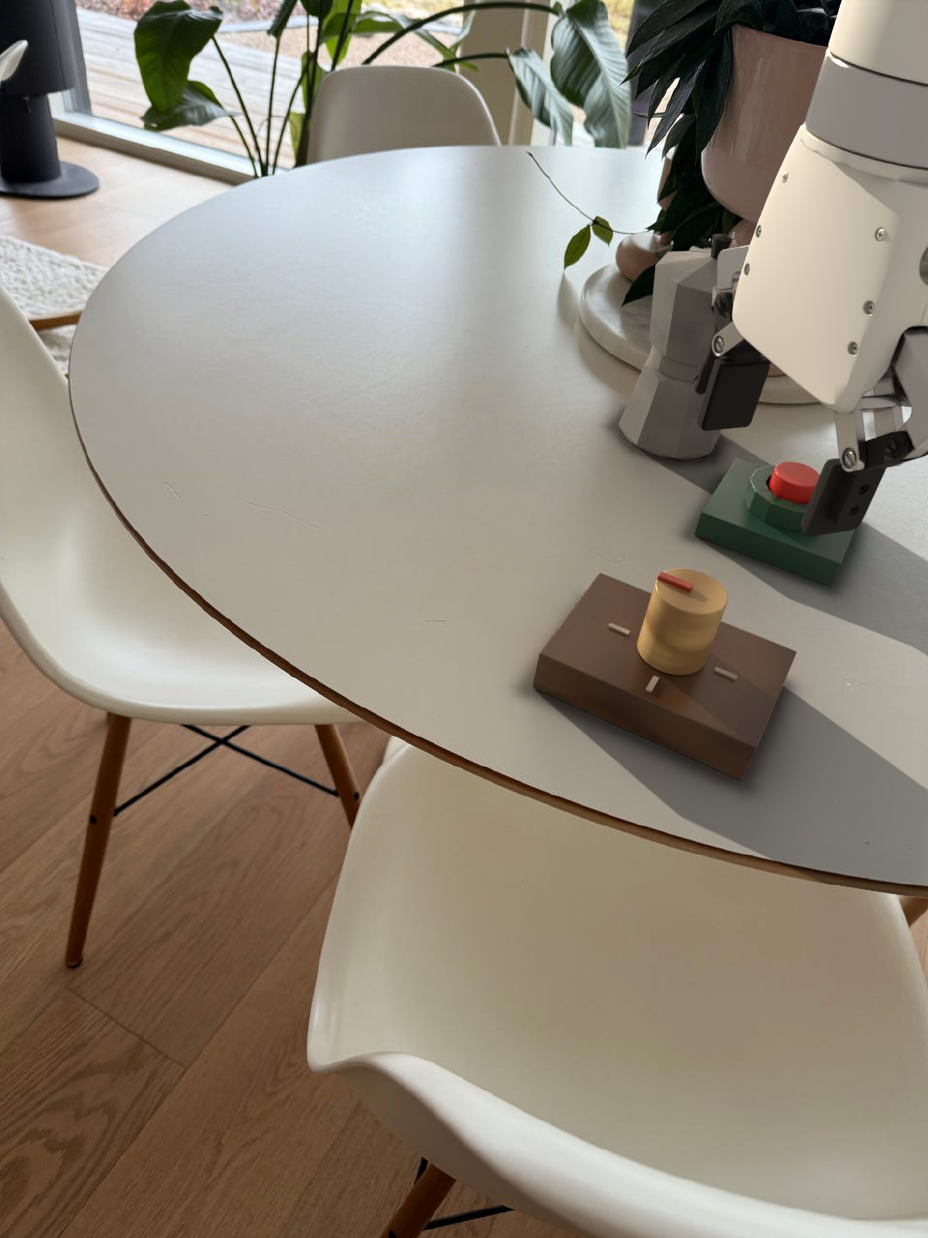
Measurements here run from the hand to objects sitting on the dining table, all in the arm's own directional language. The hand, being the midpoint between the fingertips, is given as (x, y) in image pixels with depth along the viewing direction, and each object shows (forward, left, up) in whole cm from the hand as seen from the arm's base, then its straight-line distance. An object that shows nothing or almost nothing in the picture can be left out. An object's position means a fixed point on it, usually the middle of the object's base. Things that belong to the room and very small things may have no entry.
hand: (772, 474), depth 52 cm
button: (0, -25, -15) cm, 29 cm away
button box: (0, -25, -18) cm, 31 cm away
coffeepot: (+12, -33, -18) cm, 40 cm away
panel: (+2, -2, -18) cm, 18 cm away
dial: (+2, -2, -15) cm, 15 cm away
